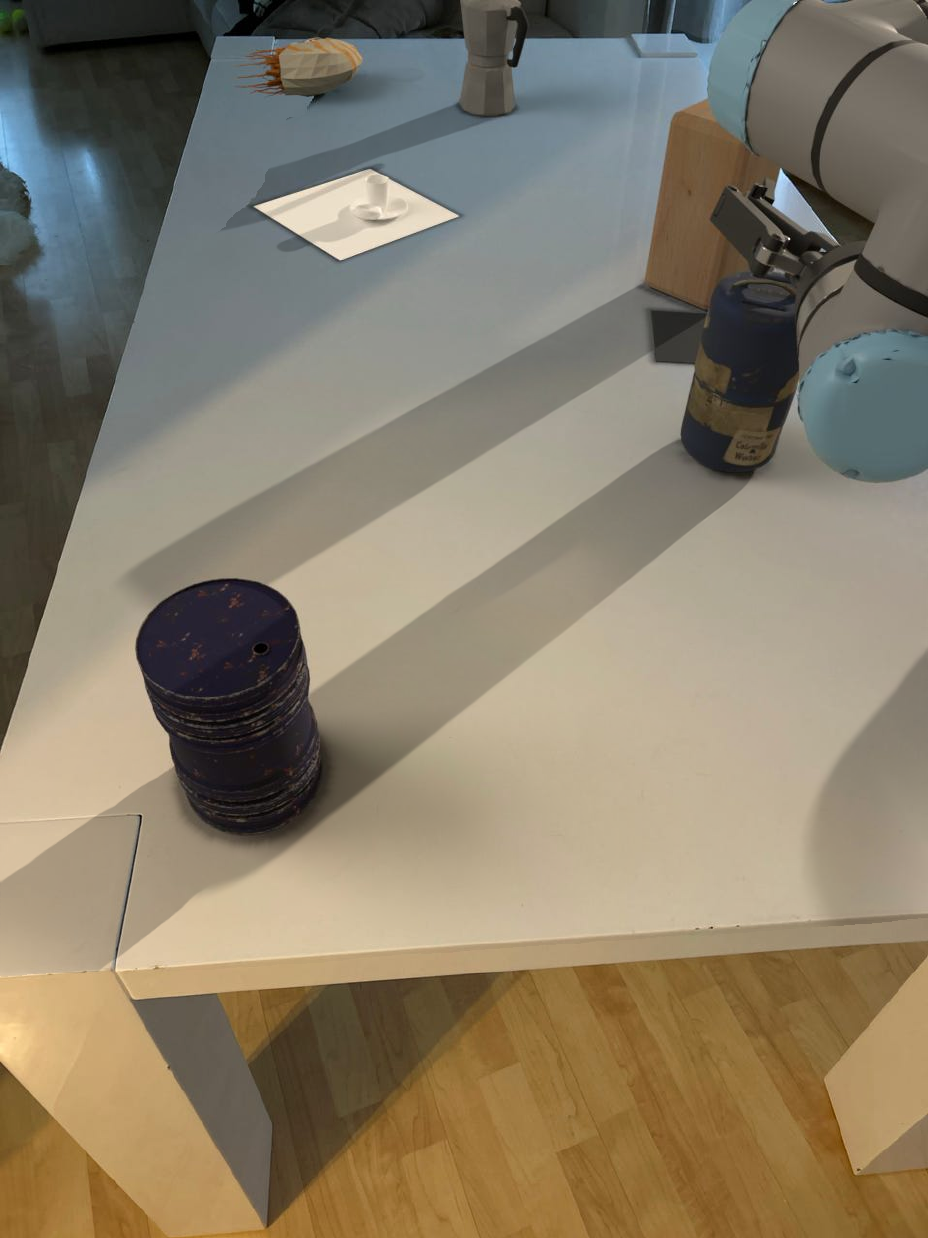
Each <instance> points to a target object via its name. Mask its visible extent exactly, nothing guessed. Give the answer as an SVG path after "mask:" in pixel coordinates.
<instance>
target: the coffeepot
mask: <svg viewBox="0 0 928 1238" xmlns="http://www.w3.org/2000/svg"><path fill="white" fill-rule="evenodd" d="M459 1H460V9H461V10H460V11H461V19H462V28H463V29H462V30H463V37H464V46H465V49H466V51H467V61H466V63H465V67H464V73H463V79H462V85H461V90H460V97H459V102H458V103H459V105H460V107H461V109H462V111H464V112H466V113H468V114H471V115H474V116H479V117H499V116H504V115H507V114H509V113H511V112H512V111H513V109H514V108H515V107H516V100H515V89H514V79H513V78H514V77H513V70H512V68H514V69H515V68H517V67H518V66H519V62H520V59H521V56H522V52H523V48H524V45H525V41H526V38H527V36H528V35H527V34H528V31H529V27H530V26H529V25H530V24H529V20H528V17H527V15H526V12H525V10H524V9H523V8H522V3H521V1H519V0H459ZM511 52H512V59H511V58H510V54H511Z"/></svg>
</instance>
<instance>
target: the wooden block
mask: <svg viewBox="0 0 928 1238" xmlns="http://www.w3.org/2000/svg"><path fill="white" fill-rule="evenodd" d="M668 131H669V132H668V137H667V143H666V149H665V153H664V160H663V166H662V173H661V179H660V185H659V190H658V197H657V203H656V210H655V215H654V221H653V227H652V233H651V240H650V245H649V251H648V256H647V257H648V258H647V264H646V269H645V275H644V276H645V277H644V281H645V284H646V285H647V286H648V287H650V288H652V289H655V290H657V291H658V292H659V291H660V292H661V293H664V294H667V295H669V296H671V297H674V298H676V299H679V300H681V301H684V302H686V303H688V304H690V305H692V306H695V307H698V308H700V309H702V310H707V311H708V308H709V304H710V300H711V296H712V293H713V291H714V289H715V287H716V286H717V284H718V283H719V282H720V281H721V280H723V279H724V278H725V277H727V276H729V275H732V274H734V273H738V272H742V271H750V269H749V266H748V262H747V260H746V259H745V258H744V257H743V256H742V255H741V254H740V253H739V252H738V250H737V249H736V248H735V247H734V246H733V245H732V244H731V243H730V242H729V241H728V240H727V239H726V237H725V236H724V235H723V234H722V233H721V232H720V231H719V230H718V229H717V228H716V227H715V226H714V224H713V223H712V222H711V221H710V220H709V219H710V217H711V215H712V213H713V211H714V208H715V206H716V204H717V202H718V200H719V198H720V196H721V194H722V192H723V190H724V188H725V186H728V185H730V186H735V187H736V188H738V190H739V191H740V192H741V193H742V194H743V195H745V193H746V191H751V189H752V187H753V185H754V183H759V184H761V185H762V184H763V182H764V180H765V178H768V179H770V180H773V181H775V189H777V184H778V180H779V176H780V172H781V170H782V169H781V167H779V166H778V165H776V164H774V163H772V162H771V161H769V160H767V159H765V158H764V157H762V156H757V155H755V154H753V153H751V152H750V150H749V149H748V148H746V146H745V145H744V143H743V142H741V141H740V140H738V139H737V138H736V137H734V136H733V135H731V134H730V133H729V132H727V131H726V130H725V129H723V128H722V127H721V126H720V125H719V124H718V122H717V121H716V120H715V118H714V116H713V114H712V112H711V109H710V106H709V101H708V97H706V98H704V99H702V100H700V101H698V102H696V103H693V104H692V105H690V106H687V107H685V108H682V109H680V110H678V111H676V112H675V113H674V114H673V116H672V118H671V120H670V125H669V130H668Z"/></svg>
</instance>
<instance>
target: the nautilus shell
mask: <svg viewBox="0 0 928 1238" xmlns="http://www.w3.org/2000/svg"><path fill="white" fill-rule="evenodd" d="M273 52H274V53H275V54H273ZM262 53H271V54H266V55H264V54H262ZM242 57H245V58H249V61H252V60H262V59H264V61H260V62H254V63H253V62H251V63H242V64H236V65H233V68H234V67H235V68H236V67H242V66H261V65H265V66H263V70H265V69H266V68H267V67H268V66H270V69H267V70H265V72H264V73H262V74H252V75H247V76H237V77H236V78H237V79H247V78H254V77H256V78H257V77H258V78H261V77H262V78H263V79H264V80H266V81H267V82H263V83H258V84H252V85H242V86H239V85H238V86H234V87H235V88H253V91H251V92H249V93H248V94H249V95H250V94H253V93H256V92H258V93H261V94H267V96H264V97H263V99H265V98H268V97H272V96H275V95H283V94H284V95H285V96H301V97H306V98H309V97H315V96H319V95H322V94H325V93H328V92H331V91H333V90H335V89H337V88H339V87H340V86H342V85H344V84H345V83H347V82H349V81H350V80H352V79H353V78H354V76H355V75H356V74H357V72H358V70H359V68H360V66H361V65H362V62H363V59H364V58H363V56H362V55H361V53H359V51H358V49H357V48H356V47H355V45H353V44H351V43H348V42H346V41H344V40H340V39H337V38H331V37H325V38H321V37H320V36H317V37H311V38H308V39H306V40H303V41H299V42H295V41H294V42H291V43H289V44H287V45H286V46H283V47H276V48H274V49H268V50H267V49H263V50H259V49H256V52H252V53H250V54H249V55H242ZM253 57H254V58H253ZM265 76H266V77H272V78H273V79H267V78H266V77H265ZM257 88H259V89H260V90H259V89H257ZM262 88H263V89H262ZM268 90H276V91H268Z"/></svg>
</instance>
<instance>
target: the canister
mask: <svg viewBox="0 0 928 1238" xmlns="http://www.w3.org/2000/svg"><path fill="white" fill-rule="evenodd" d="M796 294H797V288H796V287H795V286H793V285H792V284H791V283H789V282H788V281H787V280H786V279H785V273H782V272H778V271H773V272H772V273H771V274H769V273H768V274H767V276H766V277H759V276H756V275H754V274H753V272H752V271H742V272H738V273H734V274H732V275H729V276H727V277H725V278H724V279H723V280H721V281H720V282H719V283H718V284H717V286H716V287H715V289H714V291H713V293H712V296H711V300H710V304H709V308H708V310H707V312H706V313H707V316H706V320H705V324H704V328H703V333H702V337H701V341H700V345H699V350H698V354H697V358H696V362H695V364H694V371H693V375H692V379H691V383H690V388H689V392H688V396H687V400H686V405H685V409H684V413H683V417H682V422H681V427H680V441H681V443H682V446H683V449H685V451H686V452H687V454H688V455H689V456H691V458H693V459H694V460H695V461H696V462H698V463H700V464H701V465H704V466H706V467H707V468H710V469H713V470H716V471H721V472H727V473H745V472H746V473H747V472H751V471H755V470H757V469H759V468H762V467H763V466H765V465H766V464H767V463H769V462H770V461H771V459H772V458H773V457H774V456H775V454H776V452H777V449H778V446H779V441H780V437H781V434H782V432H783V428H784V426H785V423H786V421H787V418H788V416H789V413H790V410H791V407H792V404H793V402H794V400H795V399H794V398H795V396H796V392H797V391H798V386H799V363H798V350H797V334H796V325H795V300H796Z"/></svg>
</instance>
